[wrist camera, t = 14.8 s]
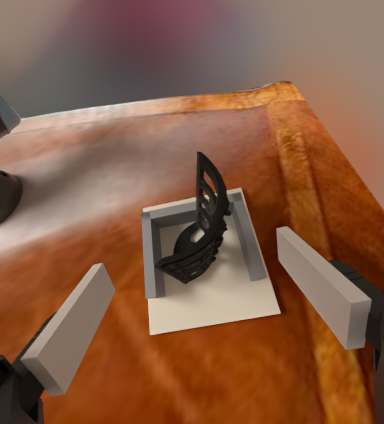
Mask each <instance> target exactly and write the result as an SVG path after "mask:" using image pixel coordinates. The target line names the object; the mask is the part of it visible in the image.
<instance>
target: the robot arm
mask: <svg viewBox="0 0 384 424" xmlns="http://www.w3.org/2000/svg"><path fill="white" fill-rule="evenodd" d="M20 121H21V119H20V116H19V115H18V113H17V112H16V111H15V110H14V109H13V108H12V107H11V106H10V105H9V104H8V103H7V102H6V101H5V99H4V98H3V97H2V96H1V95H0V138H2V137H3V136H5V135H6V134H9V133H10V131H11V130H12V129H14V128H15V127H16V126H17V125H19V124H20ZM21 192H22V186H21V183H20V181H19V180H18V179H17V178H16V177H14V176H12V175H11V174H9V173H7V172H4V171H1V170H0V222H2V221H3V220H4V219H5V218H6V217H7V216H8V215H9V214H10V213H11V212H12V211H13V210H14V208H15V207H16V205H17V204H18V202H19V199H20V197H21ZM276 230H277V246H278V260H279V261H280V263H281V264H282V265H283V267H284V268H285V269H286V271H287V272H288V273H289V275H290V276H291V277H292V279H293V280H294V281H295V283H296V284H297V285H298V287H299V288H300V289H301V291H302V292H303V293H304V295H305V296H306V297H307V299H308V300H309V301H310V303H311V304H312V305H313V307H314V308H315V309H316V311H317V312H318V313H319V315H320V316H321V317H322V319H323V320H324V321H325V323H326V324H327V325H328V327H329V328H330V329H331V331H332V332H333V333H334V335H335V336H336V337H337V339H338V340H339V341H340V343H341V344H342V345H343V347H344V348H345V349H346V350H350V349H357V348H363V347H364V345H365V339H367V340H368V341H369V342H370V343H371V344H372V345H373V347H374V350H373V355H372V360H371V363H372V364H374V392H375V423H376V424H384V293H383V292H381V291H380V290H379V289H378V288H376V287H375V286H374V285H373V284H371V283H370V282H369V281H367V280H366V279H364V278H363V277H362V276H361V275H360V274H358V273H356V271H355V270H353V269H352V268H351V267H350V266H348V265H347V264H345V263H342V262H340V261H338V260H331V261H327V260H325V259H324V258H323V257H322V256H321V255H320V254H318V253H317V252H316V251H315V250H314V249H313V248H312V247H310V246H309V245H308V244H307V243H306V242H305V241H304V240H302V239H301V238H300V237H299V236H298V235H297V234H295V233H294V232H293V231H292V230H291V229H290V228H289V227H287V226H286V227H281V228H276ZM115 291H116V290H115V288H114V286H113V284H112V282H111V279H110V277H109V275H108V273H107V271H106V269H105V267H104V264H103V263H100V264H95V265H93V266H92V267H91V269H90V270H89V271H88V272H87V274H86V275H85V276H84V278H83V279H82V280H81V282H80V283H79V284H78V285H77V287H76V288H75V289H74V291H73V292H72V293H71V295H70V296H69V297H68V298H67V300H66V301H65V302H64V304H63V305H62V306H61V307H60V309H59V310H58V311H57V312H55V313H54V314H53V315H52V316H51V317H50V318H48V319H47V320H46V322H45V323H44V324H43V325H42V327H41V328H40V330H39V331H38V332H37V333H36V334H35V335H34V338H32V339H31V340H30V342H29V343H28V344H27V345H26V347H25V348H24V349H23V350H22V352H21V353H20V354H19V356H18V357H17V358H16V359H15V361H14V362H13V363H12V364H10V363H9V362H8V360H7V359H6V358H5V357H4V356H3V355H0V424H44V417H43V402H42V399H41V398H40V396H41V394H42V393H43V391H44V389H45V390H46V391H47V392H48V394H49V395H50V396H55V395H61V394H66V392H67V390H68V388H69V386H70V384H71V381H72V379H73V377H74V375H75V373H76V371H77V369H78V367H79V365H80V363H81V361H82V359H83V357H84V355H85V353H86V351H87V349H88V347H89V345H90V343H91V341H92V338H93V336H94V334H95V332H96V330H97V328H98V326H99V324H100V322H101V320H102V318H103V316H104V314H105V312H106V310H107V308H108V306H109V304H110V302H111V300H112V297H113V295H114V293H115Z"/></svg>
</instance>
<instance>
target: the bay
mask: <svg viewBox="0 0 384 424" xmlns="http://www.w3.org/2000/svg"><path fill="white" fill-rule="evenodd" d="M215 195H216V196H217V193H215ZM204 196H205V198H206V199H207V200H208V202H209V197H208V195H204ZM227 197H228V200H229V202H230V205H229V209H228V210H229V211H230V212H231V215H230V216H224V218H223V219H224V220H225V222H226V224H227V226H226V228H228V230H227V231H225V232H224V234H223V235H222V236H223V237H224V239H223V242H222V244H221V246H220V247H219V248H218V251H219V252H218V254H217V255H215V257H216V260H215V261H214V262H212V263H211V265H210V267H209V268H208V269H207V270H206V271H205V272H204V273H203V274H202V275H201V276H199V277H198V278H196V279H195V280H192V281H190V282H188V283H187V284H184V283H182V282H180V281H179V280H177V279H176V278H174V277H172V276H170V275H168V274H166V273H164V272H162V271H160V270H158V269H156V268H155V267H154V265H155V264H156V263H157V262H158V261H159V260H160V259H162V258H164V257H167V256H171V255H173V250H174V246H175V243H176V240H177V238H178V237H179V235H180V234H181V232H182V231H183V230H184V229H185V228H187V227H188V226H189V225H191V224H193V223H194V222H196V197H195V198H190V199H185V200H180V201H176V202H171V203H166V204H161V205H157V206H152V207H147V208H143V213H141V216H142V235H143V255H144V275H145V294H146V299H148V307H149V325H150V335H154V334H160V333H166V332H172V331H178V330H184V329H190V328H196V327H202V326H208V325H214V324H220V323H226V322H232V321H238V320H244V319H250V318H257V317H263V316H269V315H275V314H281V312H280V309H279V306H278V303H277V300H276V297H275V293H274V290H273V287H272V284H271V281H270V278H269V275H268V271H267V268H266V265H265V262H264V259H263V256H262V252H261V249H260V246H259V243H258V240H257V237H256V233H255V230H254V227H253V224H252V221H251V218H250V214H249V211H248V208H247V205H246V202H245V199H244V195H243V192H242V189H241V188H237V189H232V190H228V191H227ZM202 207H203V208H204V209H205V211H206V212H207V213H208V214H209V212H208V210H207V208H206V207H205V206H204V205H203V203H202ZM209 216H210V214H209ZM202 217H203V218H204V219H205V220H206V218H205V217H204V216H203V215H202ZM206 222H207V221H206ZM201 224H202V223H201ZM202 225H203V224H202ZM203 226H204V225H203ZM204 227H205V226H204ZM205 228H206V227H205ZM204 234H205V233H204V232H203V231H202V230H201V229H200V228H198V229H197V230H196V231H195V232H194V233H193V234H192V235H191V237H190V241H191V242H195V243H196V242H197V241H198V240H199V239H200V238H201V237H202V236H203V235H204Z"/></svg>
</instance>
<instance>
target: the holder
mask: <svg viewBox="0 0 384 424" xmlns="http://www.w3.org/2000/svg"><path fill="white" fill-rule="evenodd" d="M204 171H205V172H206V173H207V174H208V176H209V177H210V178H211V180H212V182H213V184H214V186H215V189H216V193H217V196H216V195H215V193H214V192H213V190H212V189H211V187H210V186H209V185H208V184H207V183H206V181H205V180H204ZM203 190H204V191H205V192H206V193H207V195H208V197H209V202H208V200H207V199H206V198H205V196H204V195H203ZM202 203H203V205H204V206H205V207H206V208H207V210H208V212H209V214H210V216H209V214H208V213H207V212H206V211H205V209H204V208H203V207H202ZM229 205H230V202H229V200H228V197H227V190H226V186H225V184H224V181H223V179H222V177H221V175H220V173H219V172H218V170H217V168H216V167H215V166H214V164H213V163H212V162H211V161H210V160H209V159H208V158H207V157H206V156H205V155H204V154H203V153H202V152H198V151H197V176H196V222H194V223H193V224H191V225H189V226H188V227H187V228H185V229H184V230H183V231H182V232H181V234H180V235H179V237H178V238H177V240H176V243H175V246H174V250H173V255H171V256H167V257H164V258H162V259H160V260H159V261H158V262H157V263H156V264H155V265H154V267H155V268H156V269H158V270H160V271H162V272H164V273H166V274H168V275H170V276H172V277H174V278H176V279H177V280H179V281H180V282H182V283H184V284H187V283H188V282H190V281H192V280H195V279H196V278H198V277H199V276H201V275H202V274H203V273H204V272H205V271H206V270H207V269H208V268H209V267H210V265H211V263H212V262H214V261H215V260H216V257H215V255H217V254H218V252H219V251H218V248H219V247H220V246H221V244H222V242H223V239H224V237H223V236H222V235H223V234H224V232H225V231H227V230H228V228H226V226H227V224H226V222H225V220H224V219H223V218H224V216H230V215H231V212H230V211H229V210H228V209H229ZM202 215H203V216H204V217H205V218H206V220H205V219H204V218H203V217H202ZM206 221H207V222H206ZM201 223H202V224H203V225H204V226H205V227H206V228H205V227H204V226H203V225H202V224H201ZM198 228H200V229H201V230H202V231H203V232H204V233H205V234H204V235H203V236H202V237H201V238H200V239H199V240H198V241H197V242H196V243H195V242H191V241H190V237H191V235H192V234H193V233H194V232H195V231H196V230H197V229H198Z"/></svg>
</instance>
